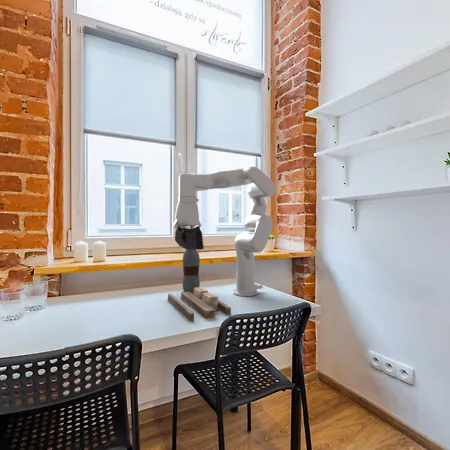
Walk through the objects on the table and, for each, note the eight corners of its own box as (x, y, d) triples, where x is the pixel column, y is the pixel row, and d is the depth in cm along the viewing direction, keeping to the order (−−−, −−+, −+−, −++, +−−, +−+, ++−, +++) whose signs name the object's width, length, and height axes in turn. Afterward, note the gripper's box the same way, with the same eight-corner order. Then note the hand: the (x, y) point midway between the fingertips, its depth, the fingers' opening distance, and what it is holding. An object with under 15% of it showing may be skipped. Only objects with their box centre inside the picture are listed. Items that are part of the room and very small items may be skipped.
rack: (201, 295, 151) (201, 290, 151) (230, 314, 122) (230, 307, 122) (168, 300, 143) (168, 293, 143) (190, 321, 115) (190, 313, 115)
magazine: (206, 230, 120) (183, 209, 145) (198, 230, 118) (177, 209, 144) (201, 269, 125) (180, 242, 150) (194, 269, 123) (174, 242, 149)
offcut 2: (210, 305, 136) (210, 292, 136) (217, 310, 129) (217, 296, 128) (202, 306, 134) (202, 293, 134) (209, 311, 127) (209, 297, 127)
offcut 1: (201, 299, 146) (201, 287, 145) (207, 303, 138) (207, 290, 138) (193, 300, 144) (193, 287, 144) (199, 304, 137) (199, 291, 136)
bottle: (192, 288, 168) (192, 234, 167) (203, 290, 161) (203, 235, 161) (178, 290, 161) (178, 235, 160) (189, 294, 155) (189, 236, 154)
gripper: (201, 201, 142) (201, 240, 142) (167, 201, 135) (167, 241, 135) (207, 201, 135) (207, 241, 136) (172, 200, 128) (172, 243, 128)
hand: (187, 241), depth 135 cm, fingers closed on magazine, 3 cm apart
